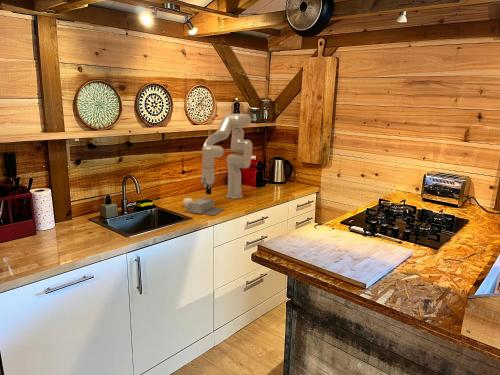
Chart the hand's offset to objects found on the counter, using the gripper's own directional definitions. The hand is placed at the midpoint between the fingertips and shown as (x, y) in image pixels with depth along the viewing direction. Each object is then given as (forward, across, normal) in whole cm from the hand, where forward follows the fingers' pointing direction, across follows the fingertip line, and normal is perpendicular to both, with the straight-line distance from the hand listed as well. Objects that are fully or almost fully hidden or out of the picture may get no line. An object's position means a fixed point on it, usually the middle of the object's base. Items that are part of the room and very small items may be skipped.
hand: (208, 194), depth 249 cm
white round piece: (+10, +1, -15) cm, 18 cm away
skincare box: (+6, -1, 0) cm, 6 cm away
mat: (+10, +6, 0) cm, 11 cm away
